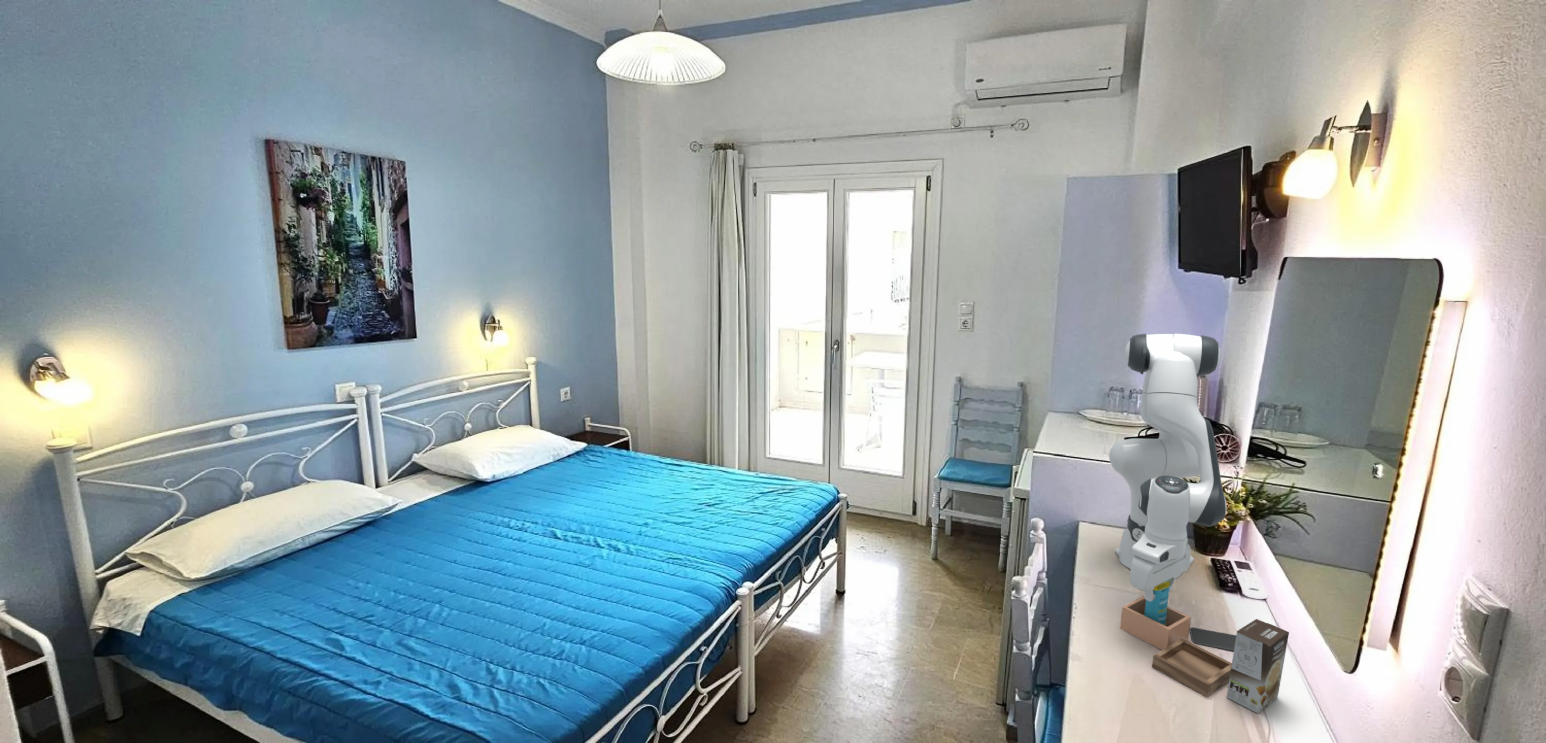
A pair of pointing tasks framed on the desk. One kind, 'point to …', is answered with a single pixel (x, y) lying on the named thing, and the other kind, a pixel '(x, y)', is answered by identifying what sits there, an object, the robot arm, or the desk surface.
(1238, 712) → the desk surface
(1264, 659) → the coffee box
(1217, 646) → the smartphone
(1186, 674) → the tray
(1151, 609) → the tube
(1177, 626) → the pink open box
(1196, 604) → the desk surface
